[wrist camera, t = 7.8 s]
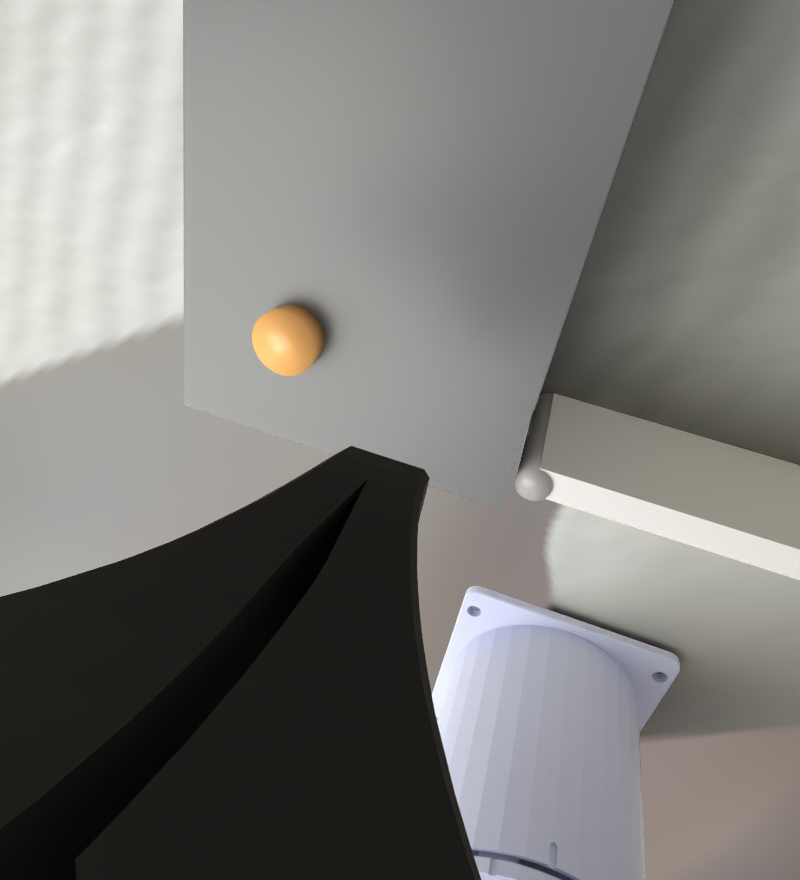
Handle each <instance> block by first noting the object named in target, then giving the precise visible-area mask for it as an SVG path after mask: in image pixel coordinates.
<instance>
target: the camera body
mask: <svg viewBox="0 0 800 880" xmlns="http://www.w3.org/2000/svg"><path fill="white" fill-rule="evenodd" d="M674 1H675V0H183V135H184V406H185V407H188V408H191V409H195V410H197V411H200V412H203V413H207V414H209V415H213V416H216V417H219V418H222V419H225V420H228V421H231V422H234V423H237V424H240V425H243V426H246V427H249V428H253V429H256V430H259V431H262V432H265V433H268V434H271V435H274V436H277V437H280V438H283V439H286V440H289V441H292V442H295V443H298V444H301V445H305V446H308V447H311V448H313V449H316V450H320V451H323V452H326V453H329V454H332V455H335V454H337V453H339V452H340V451H342V450H344V449H346V448H348V447H350V446H353V447H356V448H360V449H363V450H366V451H369V452H372V453H375V454H378V455H381V456H384V457H388V458H391V459H394V460H397V461H400V462H403V463H406V464H409V465H412V466H416V467H419V468H422V469H425V471H426V473H427V474H428V476H429V478H430V479H429V482H428V486H430V487H433V488H436V489H439V490H442V491H445V492H448V493H451V494H454V495H457V496H460V497H463V498H466V499H469V500H473V501H476V502H479V503H482V504H485V505H488V506H491V507H494V508H497V509H500V507H501V504H502V501H503V498H504V495H505V492H506V489H507V486H508V483H509V480H510V478H511V475H512V471H513V469H514V466H515V463H516V460H517V457H518V454H519V451H520V448H521V445H522V442H523V439H524V436H525V434H526V431H527V428H528V425H529V422H530V419H531V416H532V413H533V410H535V407H536V405H537V402H538V399H539V396H540V393H541V390H542V387H543V384H544V381H545V378H546V375H547V372H548V369H549V367H550V364H551V361H552V358H553V355H554V352H555V349H556V346H557V343H558V340H559V337H560V334H561V331H562V329H563V326H564V323H565V320H566V317H567V314H568V311H569V308H570V305H571V302H572V299H573V296H574V294H575V291H576V288H577V285H578V282H579V279H580V276H581V273H582V270H583V267H584V264H585V261H586V258H587V256H588V253H589V250H590V247H591V244H592V241H593V238H594V235H595V232H596V229H597V226H598V223H599V220H600V218H601V215H602V212H603V209H604V206H605V203H606V200H607V197H608V194H609V191H610V188H611V185H612V182H613V180H614V177H615V174H616V171H617V168H618V165H619V162H620V159H621V156H622V153H623V150H624V147H625V144H626V142H627V139H628V136H629V133H630V130H631V127H632V124H633V121H634V118H635V115H636V112H637V109H638V106H639V104H640V101H641V98H642V95H643V92H644V89H645V86H646V83H647V80H648V77H649V74H650V71H651V69H652V66H653V63H654V60H655V57H656V54H657V51H658V48H659V45H660V42H661V39H662V36H663V33H664V31H665V28H666V25H667V22H668V19H669V16H670V13H671V10H672V7H673V4H674Z"/></svg>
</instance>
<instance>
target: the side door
mask: <svg viewBox="0 0 800 880" xmlns="http://www.w3.org/2000/svg"><path fill="white" fill-rule="evenodd" d="M515 486H516V489H517V491H518V493H519V494H520V495H521V496H522V497H524V498H525V499H528V500H532V501H539V500H543V499H548V500H551V501H554V502H557V503H560V504H563V505H566V506H569V507H573V508H576V509H579V510H582V511H585V512H588V513H591V514H594V515H598V516H601V517H604V518H607V519H610V520H613V521H616V522H619V523H622V524H626V525H629V526H632V527H635V528H638V529H641V530H644V531H647V532H651V533H654V534H657V535H660V536H663V537H666V538H669V539H672V540H675V541H679V542H682V543H685V544H688V545H691V546H694V547H697V548H700V549H704V550H707V551H710V552H713V553H716V554H719V555H722V556H725V557H728V558H732V559H735V560H738V561H741V562H744V563H747V564H750V565H753V566H757V567H760V568H763V569H766V570H769V571H772V572H775V573H778V574H781V575H785V576H788V577H791V578H794V579H797V580H800V465H797V464H793V463H790V462H787V461H783V460H780V459H776V458H773V457H770V456H766V455H763V454H759V453H756V452H753V451H749V450H746V449H742V448H739V447H736V446H732V445H729V444H725V443H722V442H719V441H715V440H712V439H708V438H705V437H702V436H698V435H695V434H691V433H688V432H685V431H681V430H678V429H674V428H671V427H668V426H664V425H661V424H657V423H654V422H651V421H647V420H644V419H640V418H637V417H634V416H630V415H627V414H623V413H620V412H616V411H613V410H610V409H606V408H603V407H599V406H596V405H593V404H589V403H586V402H582V401H579V400H576V399H572V398H569V397H565V396H562V395H559V394H555V393H554V394H552V393H546V394H542V395H540V396H539V399H538V402H537V405H536V407H535V410H533V413H532V416H531V420H530V424H529V428H528V432H527V437H526V441H525V445H524V449H523V453H522V458H521V461H520V465H519V470H518V473H517V478H516V482H515Z"/></svg>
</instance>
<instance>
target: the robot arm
mask: <svg viewBox="0 0 800 880" xmlns="http://www.w3.org/2000/svg"><path fill="white" fill-rule="evenodd" d="M429 479H430V478H429V476H428V474H427V473H426V471H425V469H422V468H419V467H416V466H412V465H409V464H406V463H403V462H400V461H397V460H394V459H391V458H388V457H384V456H381V455H378V454H375V453H372V452H369V451H366V450H363V449H360V448H356V447H353V446H350V447H348V448H346V449H344V450H342V451H340V452H339V453H337V454H335V455H334V456H332V457H330V458H329V459H327V460H325V461H324V462H322V463H320V464H319V465H317V466H316V467H314V468H312V469H311V470H309V471H307V472H306V473H304V474H302V475H300V476H299V477H297V478H295V479H294V480H292V481H290V482H289V483H287V484H285V485H283V486H282V487H280V488H278V489H276V490H274V491H273V492H271V493H269V494H267V495H265V496H264V497H262V498H260V499H258V500H257V501H255V502H253V503H251V504H249V505H247V506H245V507H243V508H241V509H239V510H237V511H236V512H233V513H231V514H229V515H227V516H225V517H223V518H221V519H219V520H217V521H215V522H213V523H211V524H209V525H207V526H204V527H203V528H200V529H198V530H196V531H194V532H192V533H189V534H187V535H185V536H183V537H180V538H178V539H176V540H174V541H171V542H169V543H166V544H164V545H161V546H158V547H156V548H153V549H151V550H148V551H145V552H143V553H140V554H138V555H135V556H133V557H130V558H127V559H124V560H122V561H118V562H116V563H113V564H109V565H106V566H103V567H100V568H97V569H93V570H90V571H87V572H84V573H81V574H78V575H75V576H72V577H68V578H65V579H62V580H59V581H56V582H52V583H49V584H46V585H43V586H40V587H36V588H33V589H29V590H25V591H21V592H17V593H13V594H10V595H6V596H2V597H0V880H646V879H645V856H644V834H643V811H642V788H641V766H640V742H639V733H640V732H641V730H642V729H643V727H644V725H645V724H646V722H647V721H648V719H649V718H650V716H651V715H652V713H653V712H654V710H655V709H656V707H657V706H658V704H659V702H660V701H661V699H662V698H663V696H664V695H665V693H666V692H667V690H668V689H669V687H670V686H671V684H672V683H673V681H674V680H675V678H676V676H677V675H678V673H679V671H680V662H679V659H678V657H677V656H676V655H675V654H673V653H671V652H669V651H666V650H663V649H660V648H657V647H654V646H651V645H648V644H646V643H643V642H640V641H637V640H634V639H631V638H628V637H625V636H623V635H620V634H617V633H614V632H611V631H608V630H605V629H602V628H600V627H597V626H594V625H591V624H588V623H585V622H582V621H579V620H577V619H574V618H571V617H568V616H565V615H562V614H559V613H557V612H554V611H551V610H548V609H545V608H542V607H539V606H536V605H533V604H531V603H527V602H524V601H522V600H519V599H516V598H513V597H510V596H508V595H505V594H502V593H499V592H496V591H493V590H490V589H487V588H485V587H481V586H472V587H470V588H469V589H468V590H467V591H466V594H465V597H464V600H463V603H462V606H461V609H460V612H459V615H458V618H457V621H456V624H455V627H454V630H453V633H452V636H451V639H450V642H449V645H448V648H447V651H446V654H445V657H444V660H443V663H442V666H441V669H440V672H439V675H438V678H437V681H436V684H435V687H434V690H433V693H432V694H431V689H430V683H429V679H428V672H427V666H426V659H425V653H424V646H423V639H422V631H421V622H420V612H419V598H418V581H417V534H418V522H419V518H420V514H421V510H422V506H423V502H424V498H425V494H426V490H427V486H428V482H429ZM471 606H476V607H478V608H479V609H478V610H477V609H473V608H472V607H471ZM655 672H662V673H663V674H657V673H655Z"/></svg>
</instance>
